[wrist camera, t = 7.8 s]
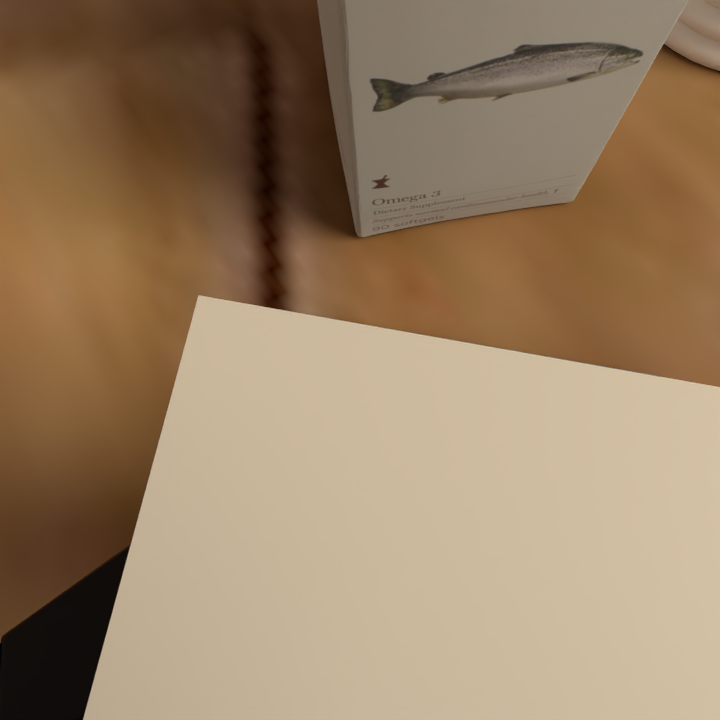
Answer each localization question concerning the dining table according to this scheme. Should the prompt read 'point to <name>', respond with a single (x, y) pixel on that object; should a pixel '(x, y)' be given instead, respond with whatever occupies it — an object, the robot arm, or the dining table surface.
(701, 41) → the white round disc
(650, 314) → the dining table surface
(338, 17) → the supplement box
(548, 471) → the cream block
